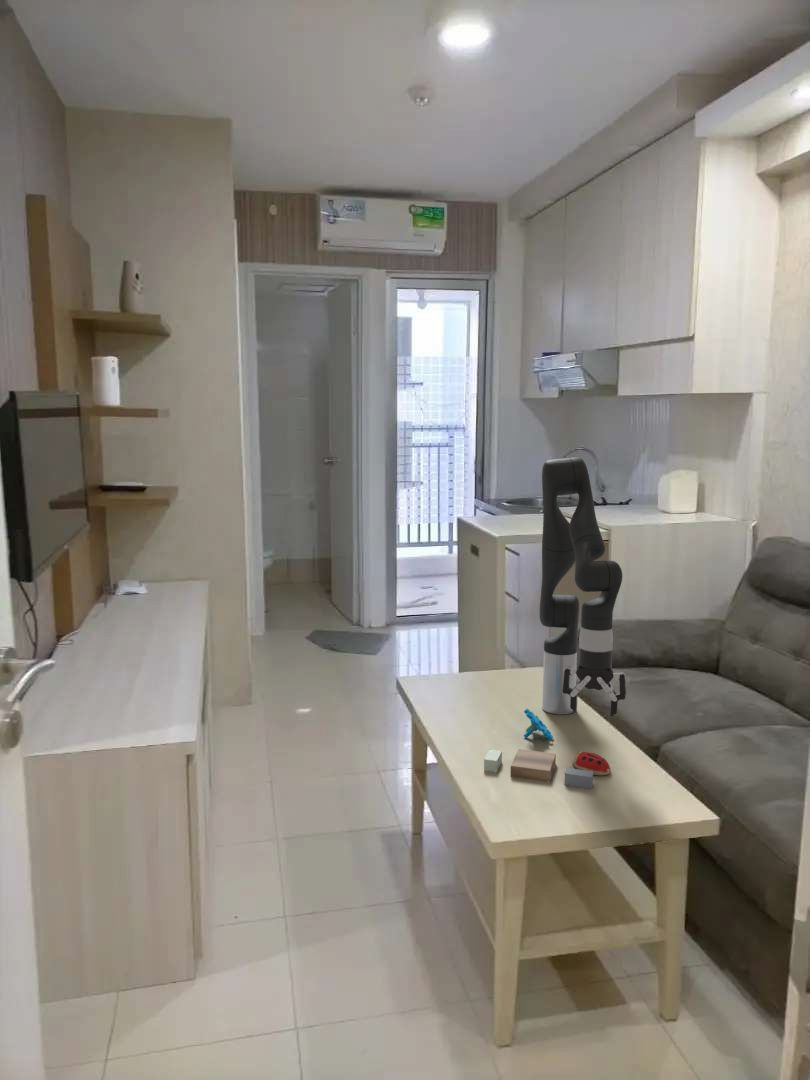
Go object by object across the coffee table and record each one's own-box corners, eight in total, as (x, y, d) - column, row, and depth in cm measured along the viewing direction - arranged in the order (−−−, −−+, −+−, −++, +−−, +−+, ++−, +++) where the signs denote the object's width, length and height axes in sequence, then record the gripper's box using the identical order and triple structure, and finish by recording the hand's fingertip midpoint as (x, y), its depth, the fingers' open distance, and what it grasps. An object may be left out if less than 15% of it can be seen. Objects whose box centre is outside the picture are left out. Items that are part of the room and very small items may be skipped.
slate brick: (564, 785, 181) (564, 773, 180) (566, 780, 183) (566, 767, 183) (591, 789, 179) (591, 777, 178) (593, 784, 181) (593, 771, 181)
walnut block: (518, 760, 194) (518, 749, 194) (555, 765, 192) (555, 753, 191) (510, 778, 185) (510, 765, 185) (549, 783, 182) (549, 771, 182)
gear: (556, 740, 201) (528, 711, 202) (539, 756, 202) (511, 727, 203) (553, 729, 212) (527, 702, 213) (537, 744, 213) (511, 717, 214)
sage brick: (489, 761, 194) (489, 749, 193) (501, 762, 193) (502, 750, 192) (483, 771, 188) (484, 759, 188) (496, 773, 187) (496, 760, 187)
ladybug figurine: (581, 759, 195) (582, 745, 194) (617, 772, 188) (618, 757, 187) (565, 767, 190) (566, 753, 190) (602, 781, 183) (602, 766, 183)
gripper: (628, 644, 186) (625, 711, 188) (566, 639, 190) (564, 704, 192) (626, 653, 179) (623, 722, 181) (562, 647, 183) (560, 715, 185)
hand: (593, 713), depth 187 cm, fingers open, 8 cm apart
